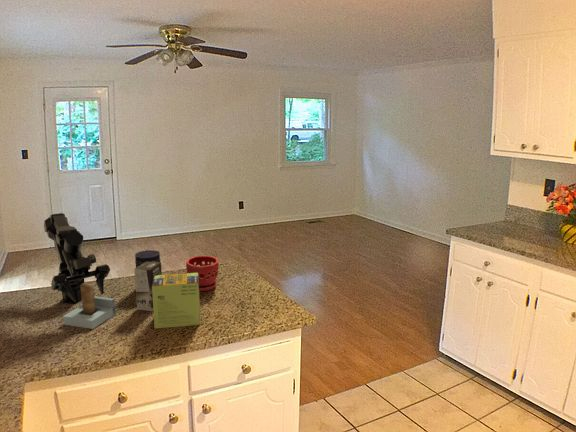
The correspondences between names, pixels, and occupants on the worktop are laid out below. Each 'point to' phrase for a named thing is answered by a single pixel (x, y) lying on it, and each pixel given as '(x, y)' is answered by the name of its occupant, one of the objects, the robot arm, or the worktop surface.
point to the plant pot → (204, 271)
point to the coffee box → (146, 284)
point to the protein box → (176, 300)
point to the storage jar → (146, 257)
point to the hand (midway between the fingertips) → (89, 297)
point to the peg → (88, 298)
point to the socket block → (103, 312)
